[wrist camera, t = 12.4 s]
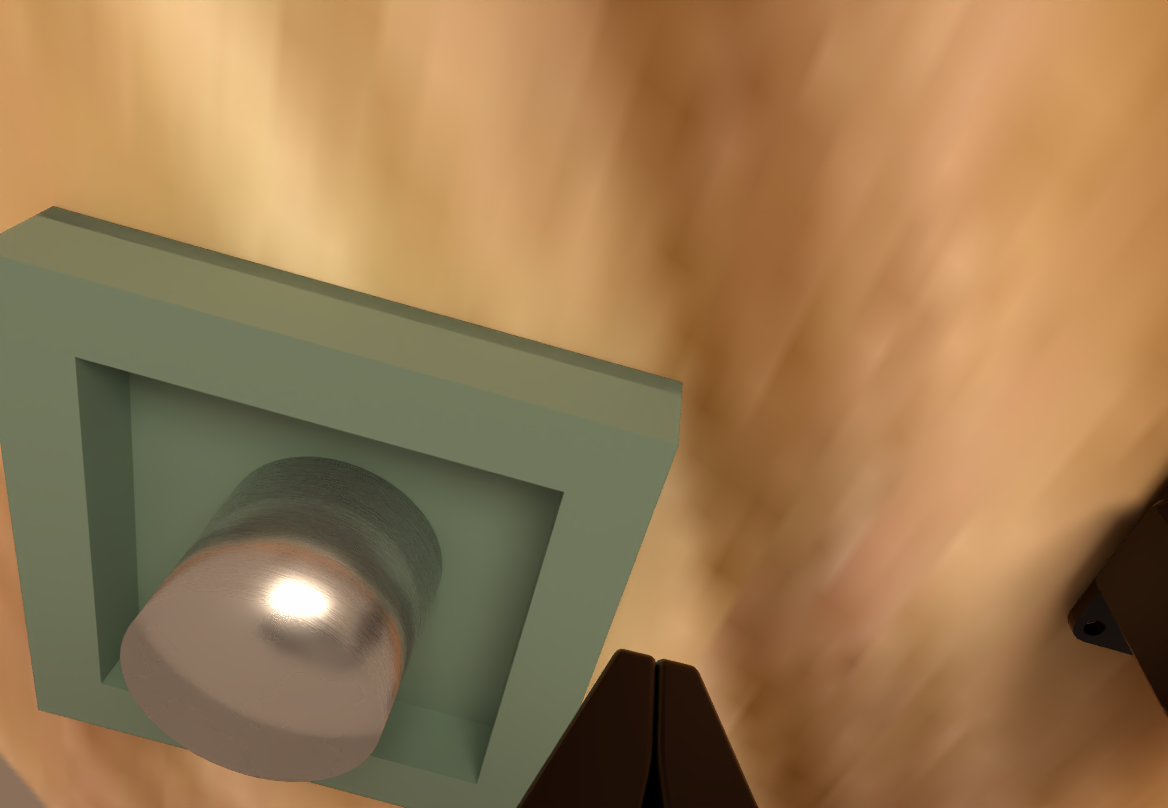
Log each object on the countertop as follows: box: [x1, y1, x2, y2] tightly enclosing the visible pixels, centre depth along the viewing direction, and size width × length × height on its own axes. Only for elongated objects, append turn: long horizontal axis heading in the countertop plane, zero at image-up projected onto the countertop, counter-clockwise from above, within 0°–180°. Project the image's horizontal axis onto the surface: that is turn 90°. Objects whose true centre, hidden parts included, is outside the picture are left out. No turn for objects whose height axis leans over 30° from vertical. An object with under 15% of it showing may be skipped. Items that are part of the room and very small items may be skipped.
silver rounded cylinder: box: [120, 457, 443, 782], centre depth 22 cm, size 6×6×5 cm
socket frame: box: [0, 206, 682, 808], centre depth 23 cm, size 15×15×3 cm
